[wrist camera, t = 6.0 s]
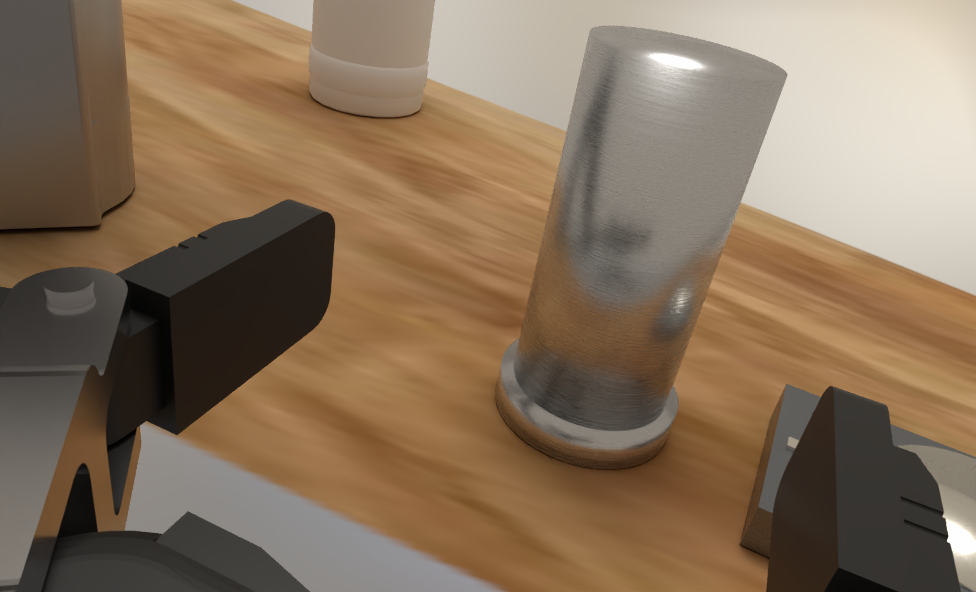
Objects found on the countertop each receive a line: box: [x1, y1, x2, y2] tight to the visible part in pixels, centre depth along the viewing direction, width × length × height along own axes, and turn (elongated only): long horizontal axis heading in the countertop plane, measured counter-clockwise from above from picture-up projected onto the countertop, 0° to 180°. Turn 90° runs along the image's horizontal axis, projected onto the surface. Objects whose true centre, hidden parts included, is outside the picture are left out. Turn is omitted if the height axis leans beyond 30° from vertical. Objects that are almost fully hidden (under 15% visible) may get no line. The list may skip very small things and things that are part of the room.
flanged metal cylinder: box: [495, 26, 787, 469], centre depth 22 cm, size 6×6×12 cm
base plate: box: [740, 384, 976, 592], centre depth 21 cm, size 12×7×2 cm, turn 64°
